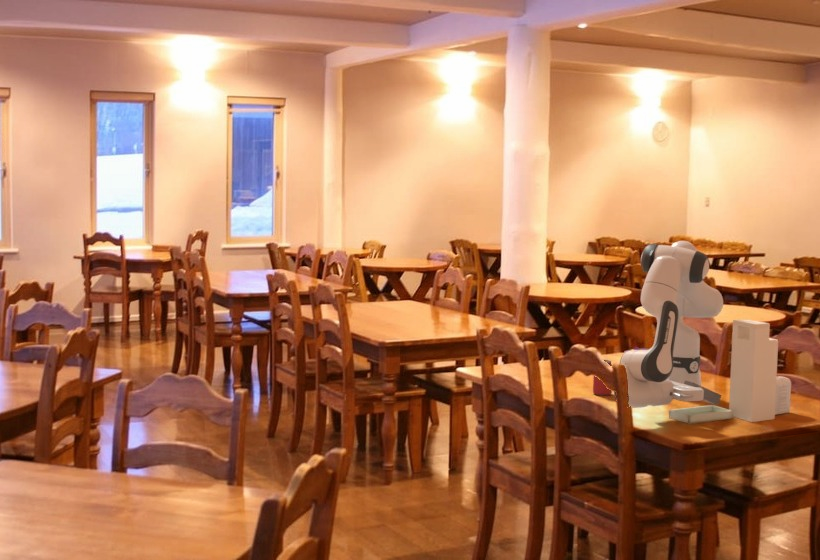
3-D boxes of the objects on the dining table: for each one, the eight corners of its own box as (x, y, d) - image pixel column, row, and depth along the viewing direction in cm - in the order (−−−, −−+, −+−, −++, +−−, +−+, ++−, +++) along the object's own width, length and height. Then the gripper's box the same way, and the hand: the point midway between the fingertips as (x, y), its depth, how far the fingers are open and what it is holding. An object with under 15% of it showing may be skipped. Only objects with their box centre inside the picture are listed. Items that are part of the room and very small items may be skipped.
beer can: (603, 396, 370) (604, 363, 369) (589, 393, 375) (590, 360, 374) (615, 394, 374) (616, 361, 373) (601, 391, 379) (602, 358, 378)
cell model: (616, 369, 423) (617, 341, 422) (663, 368, 427) (664, 340, 425) (632, 377, 406) (633, 348, 405) (681, 376, 410) (682, 347, 409)
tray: (668, 417, 340) (669, 410, 339) (712, 412, 348) (712, 404, 347) (688, 423, 331) (689, 416, 331) (732, 418, 339) (733, 410, 339)
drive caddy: (681, 390, 337) (685, 380, 337) (709, 402, 343) (712, 392, 343) (689, 392, 334) (693, 382, 334) (717, 405, 339) (721, 395, 340)
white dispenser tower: (728, 415, 343) (732, 320, 340) (751, 412, 348) (756, 318, 345) (751, 422, 335) (755, 324, 331) (774, 419, 339) (779, 322, 336)
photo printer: (780, 410, 352) (782, 374, 351) (791, 412, 349) (793, 376, 347) (760, 413, 346) (762, 377, 345) (771, 416, 343) (773, 379, 342)
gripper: (683, 387, 321) (717, 384, 327) (640, 375, 339) (673, 372, 346) (682, 407, 322) (717, 404, 328) (639, 395, 340) (673, 391, 346)
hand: (694, 387), depth 337 cm, fingers closed on drive caddy, 4 cm apart
